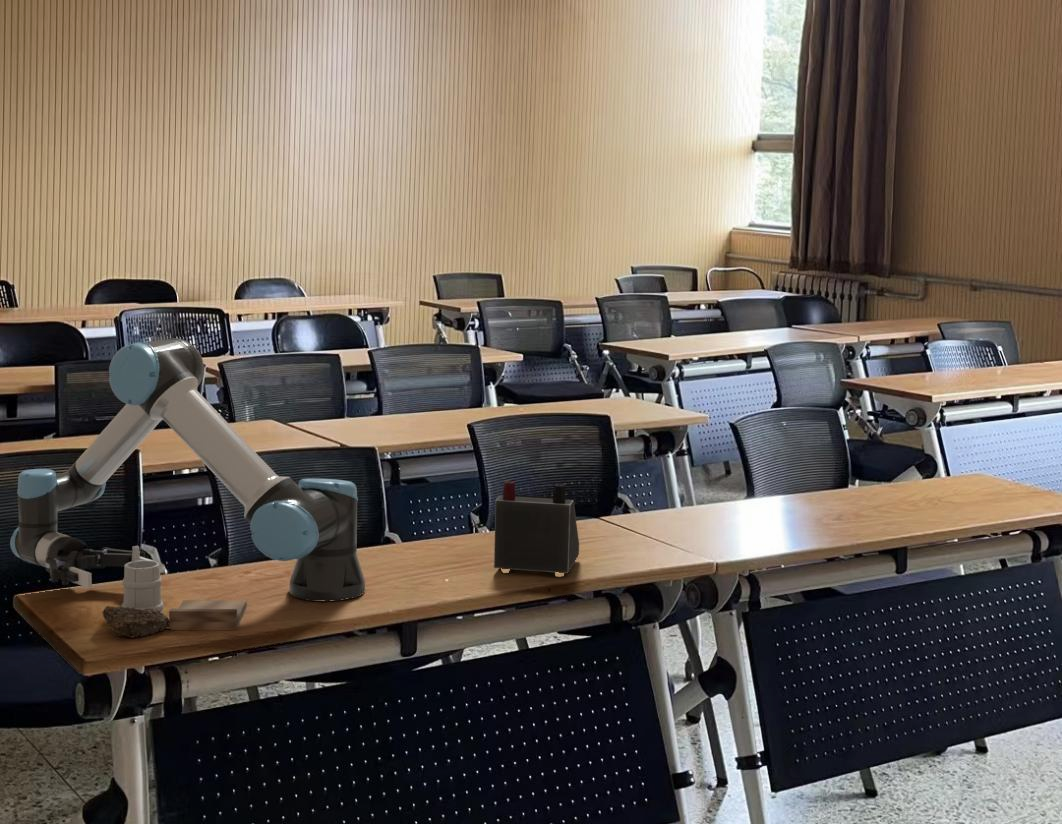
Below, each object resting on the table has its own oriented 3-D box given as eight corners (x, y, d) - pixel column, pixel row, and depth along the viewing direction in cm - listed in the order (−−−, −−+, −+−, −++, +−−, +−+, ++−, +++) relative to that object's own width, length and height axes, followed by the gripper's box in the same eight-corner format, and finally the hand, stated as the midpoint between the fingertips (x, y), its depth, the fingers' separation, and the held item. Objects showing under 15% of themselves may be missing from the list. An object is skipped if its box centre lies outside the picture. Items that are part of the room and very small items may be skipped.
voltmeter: (578, 561, 309) (581, 473, 306) (567, 579, 293) (570, 487, 290) (508, 556, 311) (510, 469, 309) (493, 574, 295) (495, 482, 293)
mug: (126, 623, 254) (124, 559, 253) (114, 606, 265) (112, 545, 263) (167, 618, 258) (166, 556, 256) (154, 602, 268) (153, 542, 267)
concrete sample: (109, 644, 242) (108, 616, 242) (99, 628, 251) (99, 601, 251) (175, 637, 247) (174, 609, 247) (163, 621, 256) (163, 595, 256)
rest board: (246, 608, 266) (246, 590, 265) (235, 630, 252) (235, 611, 251) (183, 607, 265) (183, 590, 264) (169, 629, 251) (169, 611, 250)
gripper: (118, 561, 288) (177, 581, 274) (5, 583, 269) (62, 605, 255) (117, 526, 286) (177, 544, 273) (4, 546, 268) (61, 566, 254)
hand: (121, 574), depth 264 cm, fingers open, 13 cm apart
